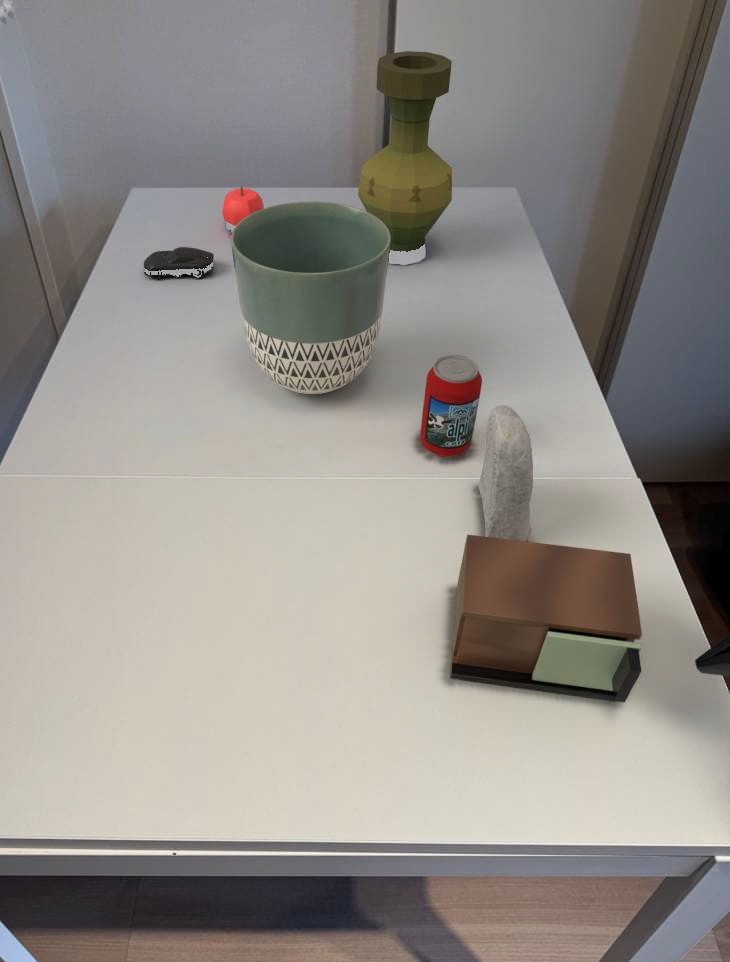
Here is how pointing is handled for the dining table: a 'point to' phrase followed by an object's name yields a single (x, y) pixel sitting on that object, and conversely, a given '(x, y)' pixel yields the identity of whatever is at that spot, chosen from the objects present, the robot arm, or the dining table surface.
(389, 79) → the vase
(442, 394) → the beverage can
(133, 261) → the dining table surface
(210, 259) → the toy car
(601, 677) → the sliding cabinet door
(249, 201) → the apple
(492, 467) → the decorative stone
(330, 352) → the planter
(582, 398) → the dining table surface
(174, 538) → the dining table surface
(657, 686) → the dining table surface
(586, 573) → the cabinet
